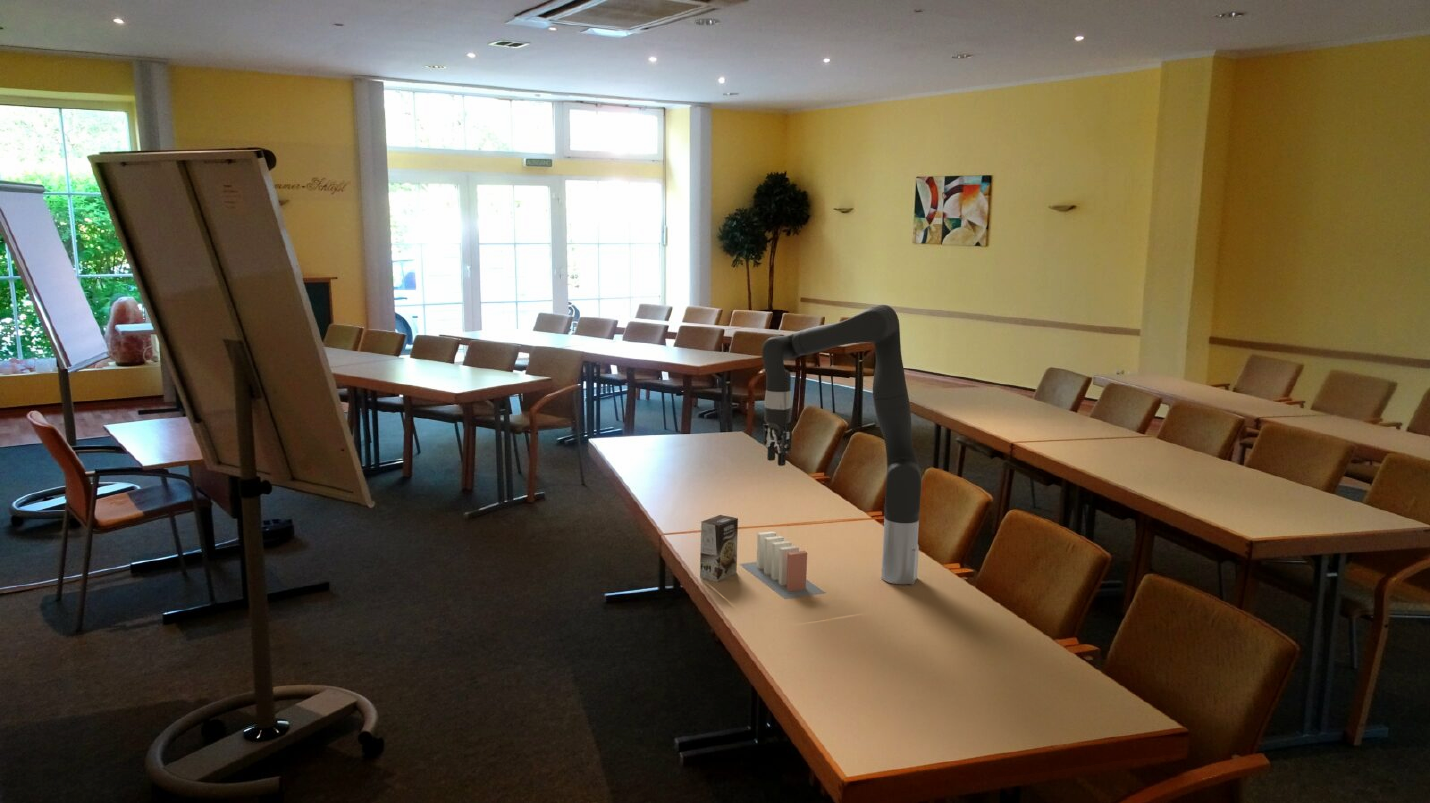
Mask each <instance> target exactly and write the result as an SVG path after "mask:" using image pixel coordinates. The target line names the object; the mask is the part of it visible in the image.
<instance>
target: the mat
mask: <svg viewBox="0 0 1430 803" xmlns="http://www.w3.org/2000/svg"><path fill="white" fill-rule="evenodd" d="M739 566H741V567H742V568H743V569H745V570H746V571H747V572H748V573H749V574H751V575H753V576H754V577H755V578H757V579H758V580H759V581H761V582H762V584H764V585H766V586H767V587H769V588H770V589H771V590H772V591H774V592H775V593H776V594H777V595H779V596H780V597H782V598H783V599H785V600H787V599H794V598H800V597H801V598H802V597H807V596H814V595H820V594H826V592H825V591H824V590H822V588H819V587H818V586H816V585H815V584H814V583H813V582H811V581H810V580H808V579H807V578H806V589H801V590H795V591H788V590H787V589H786V587H787V585H780V584H779V579H777V580H773V579H772V578H771V574H765V573H764V569H758V568H757V561H752V562H745V563H739Z"/></svg>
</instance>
